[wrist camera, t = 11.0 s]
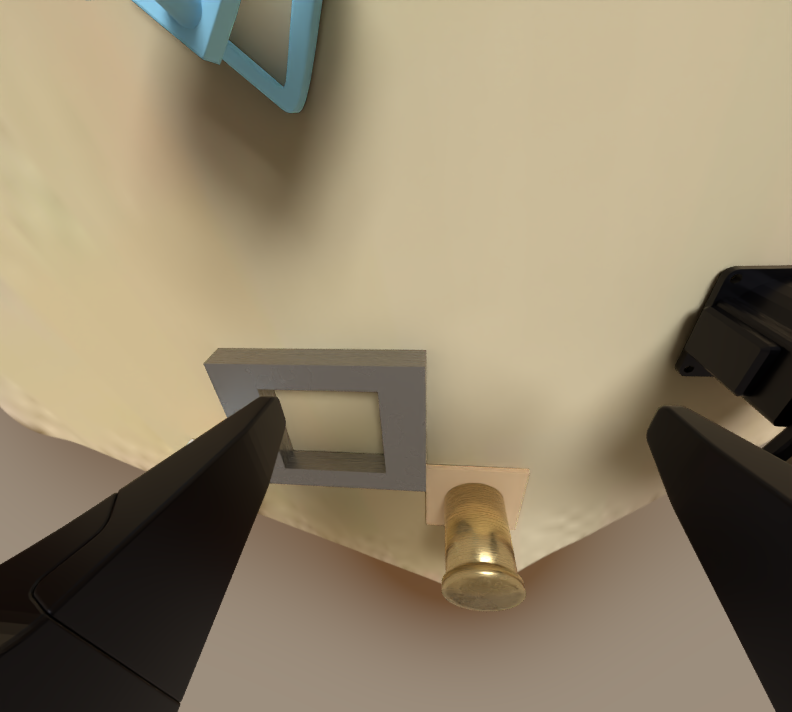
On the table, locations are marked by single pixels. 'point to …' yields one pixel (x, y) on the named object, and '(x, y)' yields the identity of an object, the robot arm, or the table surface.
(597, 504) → the table surface
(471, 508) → the brass flared knob
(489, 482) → the pad
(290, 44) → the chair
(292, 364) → the grey flat rectangular frame
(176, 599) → the robot arm
